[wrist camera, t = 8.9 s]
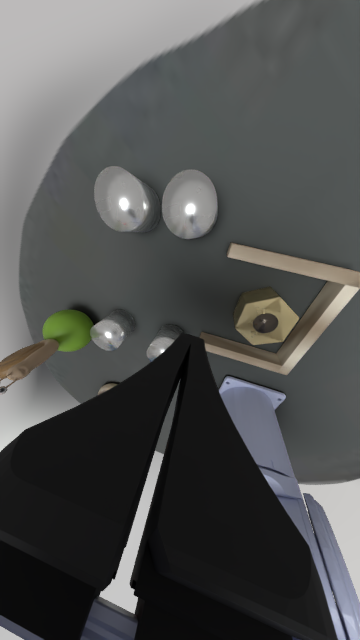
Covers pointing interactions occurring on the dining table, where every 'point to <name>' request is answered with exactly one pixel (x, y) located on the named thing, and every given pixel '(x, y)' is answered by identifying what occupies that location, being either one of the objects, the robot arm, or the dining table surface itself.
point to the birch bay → (310, 325)
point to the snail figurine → (48, 344)
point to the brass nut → (263, 317)
